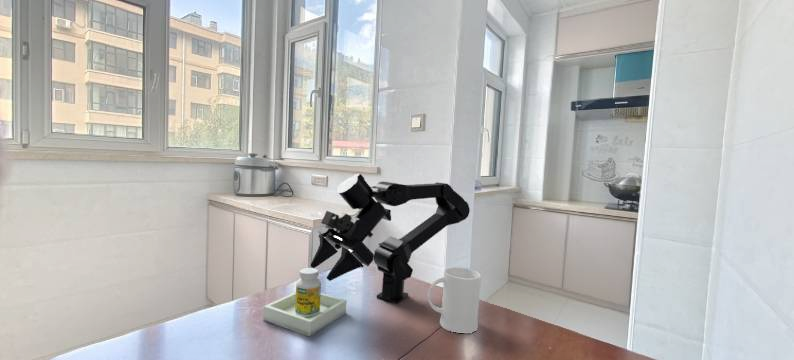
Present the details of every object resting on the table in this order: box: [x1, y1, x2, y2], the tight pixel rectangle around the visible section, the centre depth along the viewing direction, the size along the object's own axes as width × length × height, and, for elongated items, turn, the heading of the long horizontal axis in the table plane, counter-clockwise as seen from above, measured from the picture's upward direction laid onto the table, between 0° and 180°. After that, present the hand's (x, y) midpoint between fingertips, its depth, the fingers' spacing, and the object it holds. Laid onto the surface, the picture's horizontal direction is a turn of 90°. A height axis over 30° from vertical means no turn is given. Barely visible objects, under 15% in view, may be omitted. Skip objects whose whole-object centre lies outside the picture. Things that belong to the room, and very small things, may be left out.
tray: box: [263, 291, 347, 337], centre depth 75 cm, size 13×13×3 cm
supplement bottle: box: [295, 267, 322, 318], centre depth 75 cm, size 5×5×10 cm
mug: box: [427, 266, 482, 334], centre depth 76 cm, size 12×8×12 cm
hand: (319, 273), depth 76 cm, fingers open, 9 cm apart
